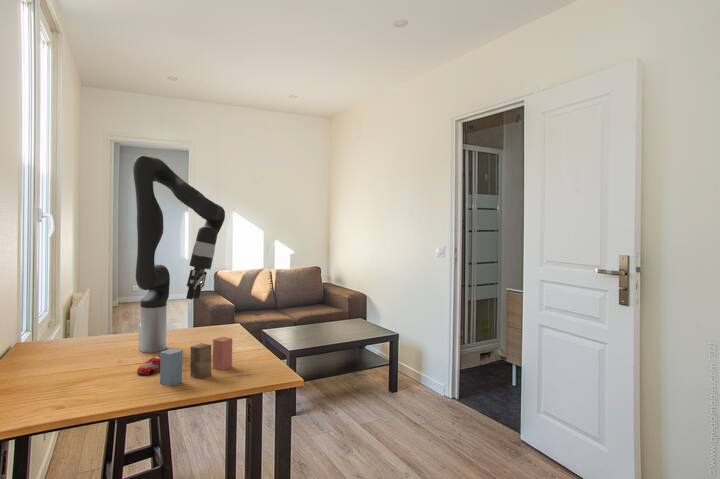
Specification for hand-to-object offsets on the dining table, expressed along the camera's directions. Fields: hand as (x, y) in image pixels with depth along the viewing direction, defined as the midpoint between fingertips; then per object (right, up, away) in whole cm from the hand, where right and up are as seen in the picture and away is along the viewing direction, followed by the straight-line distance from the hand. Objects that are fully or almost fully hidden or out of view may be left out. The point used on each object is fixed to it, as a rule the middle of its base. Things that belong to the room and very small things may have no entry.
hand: (192, 298), depth 154 cm
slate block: (+2, -23, -22) cm, 32 cm away
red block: (+13, -23, -7) cm, 27 cm away
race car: (-9, -23, -10) cm, 27 cm away
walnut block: (+9, -23, -15) cm, 29 cm away
